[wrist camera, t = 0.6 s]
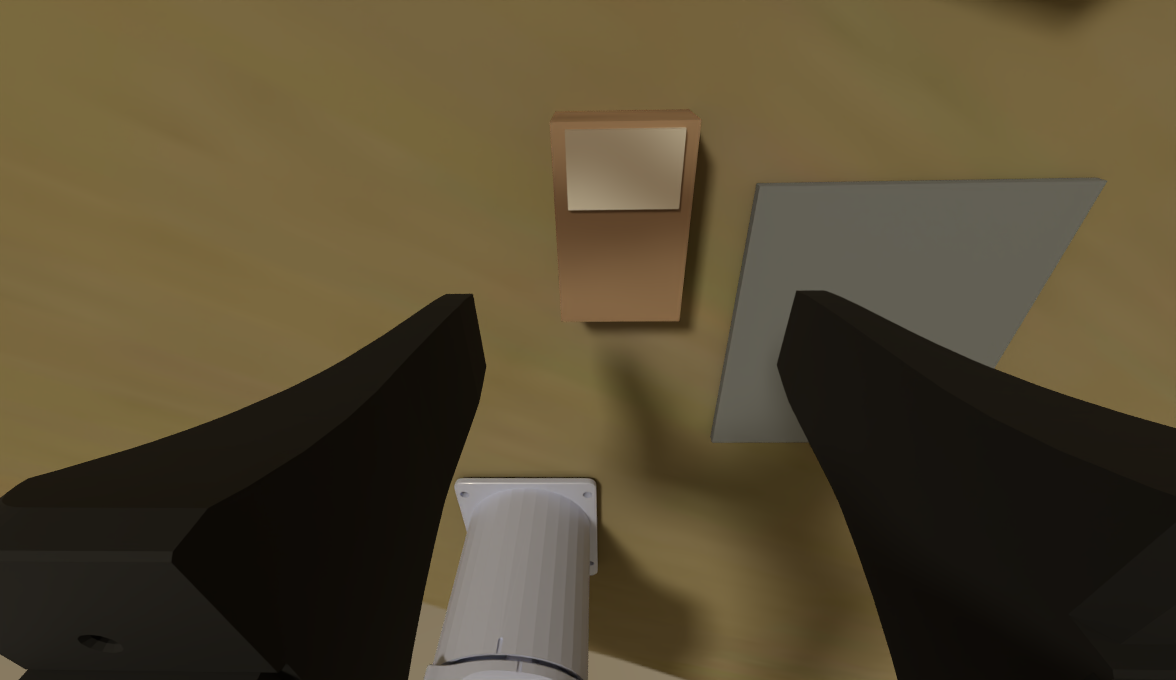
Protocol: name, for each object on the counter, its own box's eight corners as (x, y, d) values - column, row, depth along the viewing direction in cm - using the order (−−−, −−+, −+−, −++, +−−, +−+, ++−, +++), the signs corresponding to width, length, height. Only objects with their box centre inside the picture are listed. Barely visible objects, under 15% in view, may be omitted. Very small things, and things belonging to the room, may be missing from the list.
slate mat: (944, 436, 24) (949, 442, 23) (710, 436, 24) (711, 442, 24) (1097, 177, 16) (1107, 180, 16) (756, 183, 17) (759, 186, 16)
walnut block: (670, 290, 20) (680, 323, 17) (565, 291, 20) (561, 324, 17) (687, 107, 16) (702, 120, 13) (555, 110, 16) (549, 123, 13)
